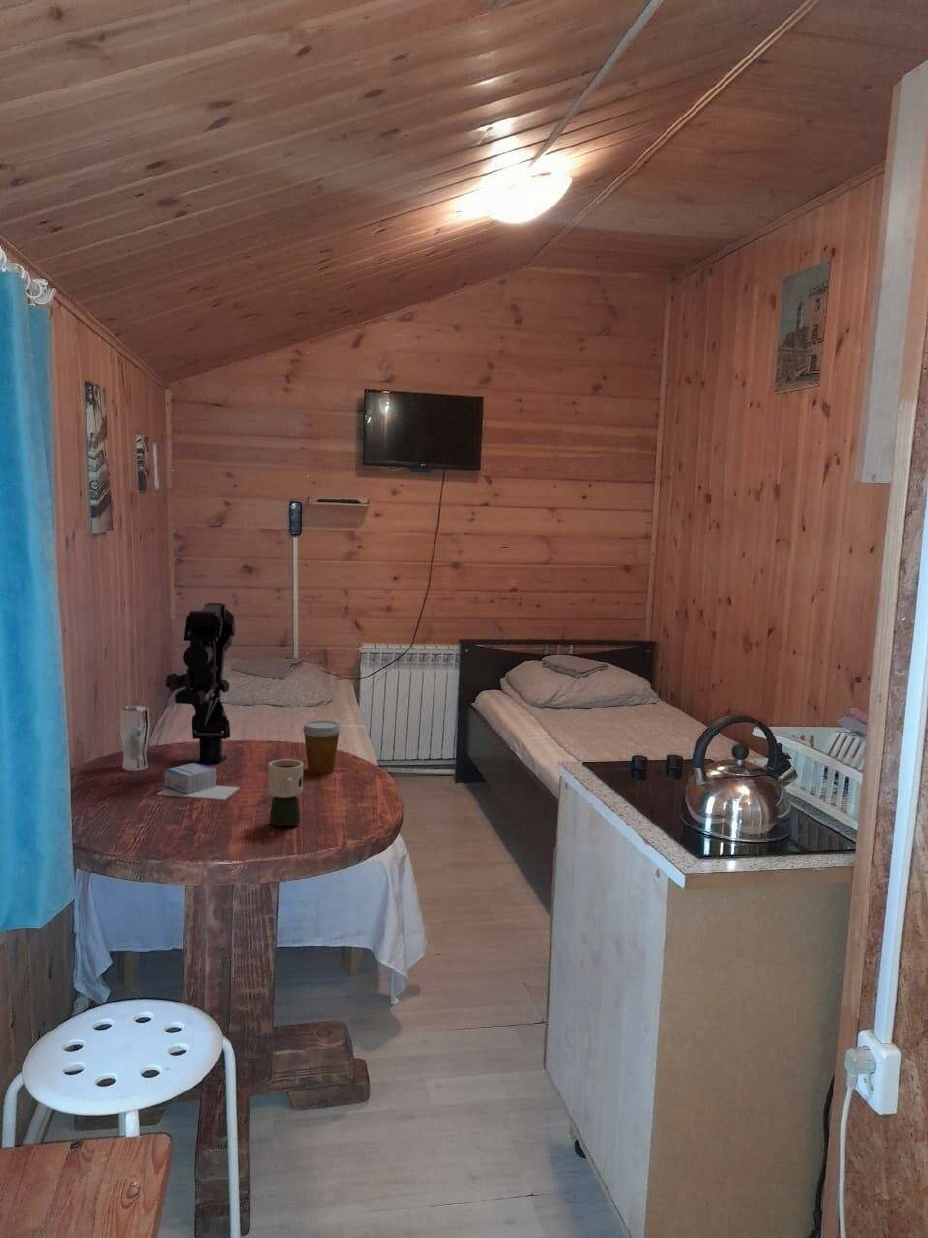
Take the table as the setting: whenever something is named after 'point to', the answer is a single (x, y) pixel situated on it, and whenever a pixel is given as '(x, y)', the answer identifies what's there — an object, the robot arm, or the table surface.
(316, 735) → the disposable coffee cup
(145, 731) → the beer glass
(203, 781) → the medicine box
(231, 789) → the mat
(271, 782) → the character mug
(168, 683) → the robot arm
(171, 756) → the table surface
